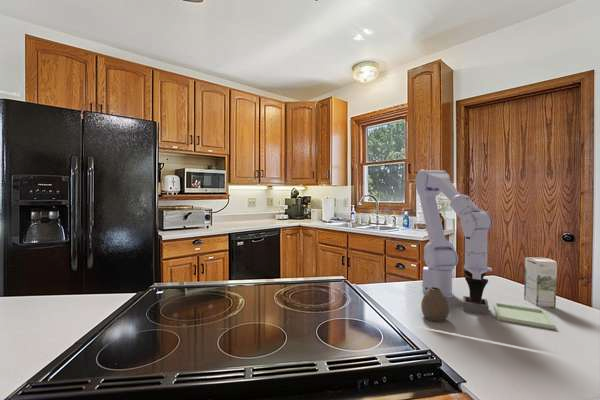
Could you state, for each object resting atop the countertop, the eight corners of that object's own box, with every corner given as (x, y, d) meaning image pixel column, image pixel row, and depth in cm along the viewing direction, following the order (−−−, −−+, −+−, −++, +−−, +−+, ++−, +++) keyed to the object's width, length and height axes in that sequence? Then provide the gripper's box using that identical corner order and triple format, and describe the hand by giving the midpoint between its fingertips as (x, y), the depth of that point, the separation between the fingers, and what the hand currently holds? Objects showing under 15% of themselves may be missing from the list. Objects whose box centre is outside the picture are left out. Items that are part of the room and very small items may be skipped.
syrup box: (542, 301, 95) (543, 256, 95) (556, 308, 89) (557, 260, 89) (523, 300, 95) (524, 256, 95) (536, 307, 89) (537, 260, 89)
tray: (497, 321, 79) (497, 315, 79) (493, 307, 90) (493, 302, 90) (555, 331, 73) (555, 325, 73) (543, 315, 84) (543, 309, 84)
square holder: (463, 312, 86) (463, 302, 86) (463, 305, 91) (463, 295, 91) (488, 316, 83) (488, 306, 83) (486, 309, 88) (486, 299, 88)
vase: (452, 326, 76) (452, 293, 76) (424, 324, 78) (424, 291, 77) (444, 316, 83) (445, 285, 83) (418, 314, 84) (419, 283, 84)
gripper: (494, 257, 78) (493, 308, 78) (489, 249, 91) (489, 292, 91) (464, 255, 82) (463, 303, 82) (463, 247, 94) (463, 289, 95)
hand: (475, 297), depth 87 cm, fingers open, 7 cm apart
